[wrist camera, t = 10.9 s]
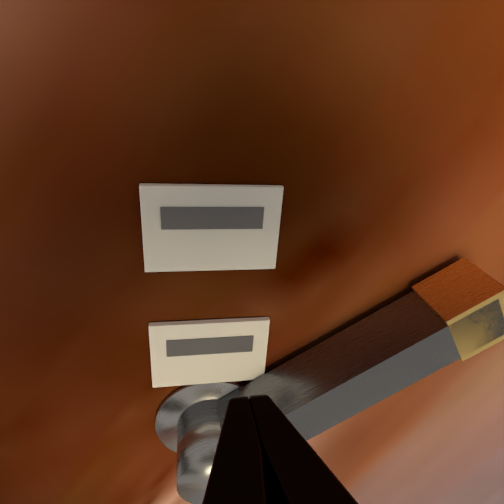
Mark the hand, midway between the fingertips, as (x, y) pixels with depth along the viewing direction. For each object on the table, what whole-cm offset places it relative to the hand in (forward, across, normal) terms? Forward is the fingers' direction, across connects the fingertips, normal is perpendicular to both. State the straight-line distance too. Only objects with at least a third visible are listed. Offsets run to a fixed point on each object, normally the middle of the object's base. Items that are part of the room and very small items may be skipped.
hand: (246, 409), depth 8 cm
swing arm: (+10, -6, +8) cm, 14 cm away
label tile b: (+10, 0, 0) cm, 10 cm away
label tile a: (+10, 0, +7) cm, 12 cm away
